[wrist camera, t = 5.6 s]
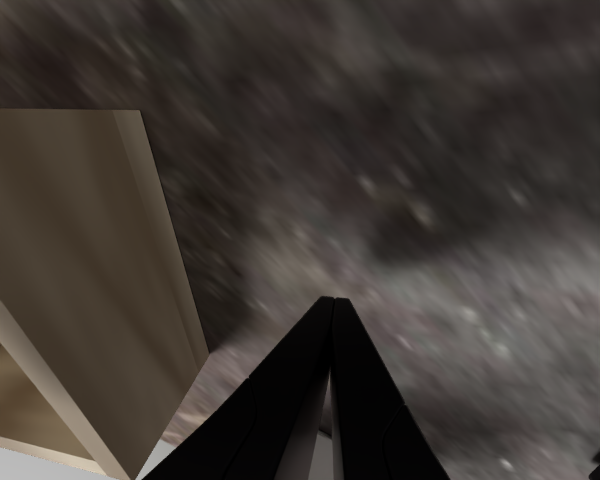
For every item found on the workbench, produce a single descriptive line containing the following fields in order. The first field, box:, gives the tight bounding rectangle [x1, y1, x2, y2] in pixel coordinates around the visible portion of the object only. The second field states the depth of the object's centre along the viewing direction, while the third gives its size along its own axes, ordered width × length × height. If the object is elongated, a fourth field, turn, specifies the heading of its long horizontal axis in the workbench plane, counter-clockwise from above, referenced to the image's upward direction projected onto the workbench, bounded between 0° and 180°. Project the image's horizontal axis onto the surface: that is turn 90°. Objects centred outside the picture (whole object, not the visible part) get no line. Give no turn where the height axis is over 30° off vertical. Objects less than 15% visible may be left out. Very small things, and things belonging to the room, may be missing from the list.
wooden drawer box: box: [0, 108, 209, 480], centre depth 9 cm, size 11×11×5 cm
